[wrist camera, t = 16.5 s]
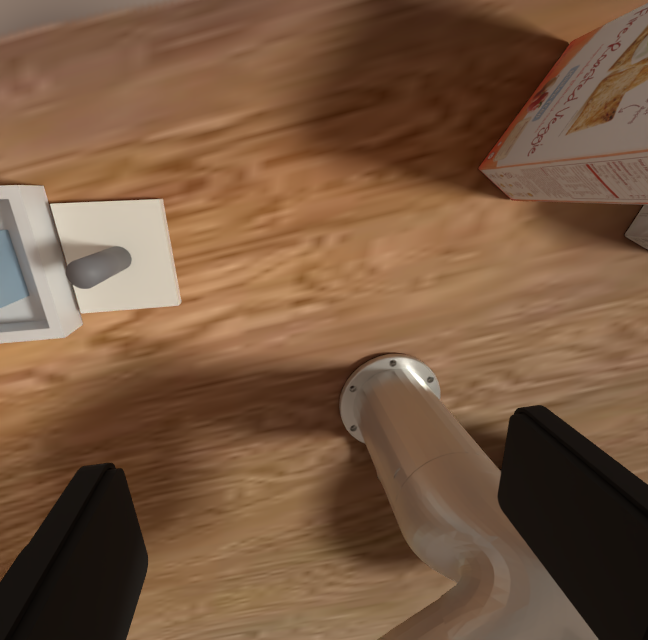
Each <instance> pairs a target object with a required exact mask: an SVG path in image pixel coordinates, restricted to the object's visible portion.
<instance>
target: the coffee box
mask: <svg viewBox="0 0 648 640" xmlns="http://www.w3.org/2000/svg"><path fill="white" fill-rule="evenodd" d="M625 236H626V237H627V238H629V239H630V240H632V241H634V242H635V243H637V244H639V245H640V246H642V247H644V248H646V249H647V250H648V205H644V206H643V207H642V209H641V210H640V212H639V213H638V215H637V216H636V218H635V220H634V221H633V223H632V224H631V226H630V227H629V229H628V230H627V232H626V233H625Z"/></svg>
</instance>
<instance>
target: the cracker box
mask: <svg viewBox="0 0 648 640" xmlns="http://www.w3.org/2000/svg"><path fill="white" fill-rule="evenodd" d="M478 169H479V170H480V171H481V172H482V173H483V174H484V175H485V176H486V177H487V178H489V179H490V180H491V181H492V182H493V183H494V184H495V185H496V186H497V187H498V188H499V189H500V190H502V191H503V192H504V193H505V194H506V195H507V196H508V197H509V198H510V199H511V200H516V201H543V202H573V203H607V204H642V205H648V3H647V4H645V5H643V6H641V7H639V8H637V9H635V10H633V11H631V12H629V13H627V14H625V15H623V16H621V17H619V18H617V19H615V20H613V21H611V22H609V23H607V24H605V25H603V26H601V27H599V28H597V29H595V30H593V31H591V32H589V33H587V34H585V35H583V36H581V37H579V38H577V39H575V40H573V41H572V42H571V43H570V44H569V46H568V47H567V48H566V50H565V51H564V52H563V54H562V55H561V57H560V58H559V59H558V61H557V62H556V63H555V65H554V66H553V67H552V69H551V70H550V71H549V73H548V74H547V76H546V77H545V78H544V80H543V81H542V82H541V84H540V85H539V86H538V88H537V89H536V90H535V92H534V93H533V95H532V96H531V97H530V99H529V100H528V101H527V103H526V104H525V105H524V107H523V108H522V109H521V111H520V112H519V113H518V115H517V116H516V118H515V119H514V120H513V122H512V123H511V124H510V126H509V127H508V128H507V130H506V131H505V132H504V134H503V135H502V136H501V138H500V139H499V140H498V142H497V143H496V144H495V146H494V147H493V149H492V150H491V151H490V153H489V154H488V155H487V157H486V158H485V159H484V161H483V162H482V163H481V165H480V166H479V168H478Z"/></svg>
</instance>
